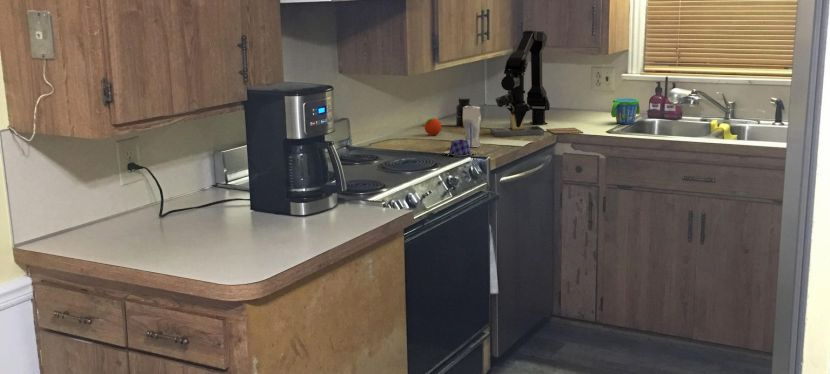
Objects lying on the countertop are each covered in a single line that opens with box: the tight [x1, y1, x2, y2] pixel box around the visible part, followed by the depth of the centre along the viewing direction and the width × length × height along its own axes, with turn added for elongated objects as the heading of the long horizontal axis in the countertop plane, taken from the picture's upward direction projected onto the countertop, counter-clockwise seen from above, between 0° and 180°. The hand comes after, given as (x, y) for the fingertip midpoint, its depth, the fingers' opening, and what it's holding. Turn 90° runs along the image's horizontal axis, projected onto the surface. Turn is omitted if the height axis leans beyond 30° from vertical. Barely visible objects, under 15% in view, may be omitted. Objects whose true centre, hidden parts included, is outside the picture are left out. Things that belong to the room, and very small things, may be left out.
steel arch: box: [489, 125, 545, 138], centre depth 370 cm, size 10×20×2 cm, turn 97°
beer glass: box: [462, 105, 482, 148], centre depth 342 cm, size 7×7×15 cm
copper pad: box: [546, 127, 584, 136], centre depth 372 cm, size 12×12×1 cm
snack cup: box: [610, 97, 641, 125], centre depth 389 cm, size 16×10×10 cm
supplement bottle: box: [455, 97, 472, 127], centre depth 392 cm, size 7×7×12 cm
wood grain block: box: [509, 113, 525, 130], centre depth 369 cm, size 4×4×8 cm
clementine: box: [424, 117, 442, 136], centre depth 370 cm, size 8×7×7 cm
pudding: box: [443, 139, 478, 155], centre depth 328 cm, size 12×12×5 cm
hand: (516, 126), depth 370 cm, fingers closed on wood grain block, 4 cm apart
